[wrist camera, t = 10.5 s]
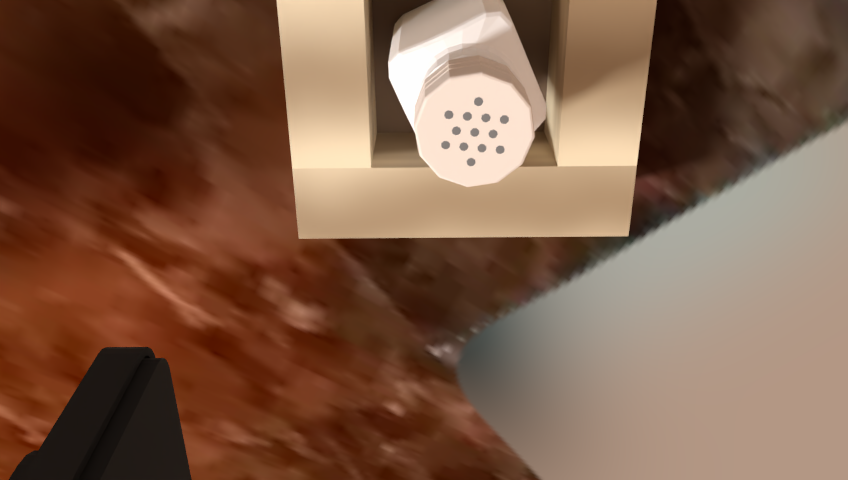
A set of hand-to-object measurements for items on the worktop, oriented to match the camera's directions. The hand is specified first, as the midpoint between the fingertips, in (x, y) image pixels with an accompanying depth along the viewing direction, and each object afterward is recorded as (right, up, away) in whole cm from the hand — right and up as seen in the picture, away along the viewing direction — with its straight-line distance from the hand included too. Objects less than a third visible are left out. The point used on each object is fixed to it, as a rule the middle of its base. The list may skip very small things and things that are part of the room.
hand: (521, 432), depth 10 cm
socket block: (0, +10, +20) cm, 22 cm away
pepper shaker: (0, +10, +19) cm, 21 cm away
